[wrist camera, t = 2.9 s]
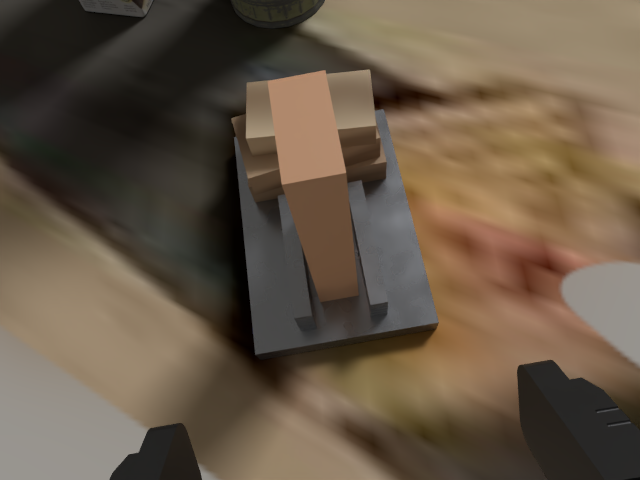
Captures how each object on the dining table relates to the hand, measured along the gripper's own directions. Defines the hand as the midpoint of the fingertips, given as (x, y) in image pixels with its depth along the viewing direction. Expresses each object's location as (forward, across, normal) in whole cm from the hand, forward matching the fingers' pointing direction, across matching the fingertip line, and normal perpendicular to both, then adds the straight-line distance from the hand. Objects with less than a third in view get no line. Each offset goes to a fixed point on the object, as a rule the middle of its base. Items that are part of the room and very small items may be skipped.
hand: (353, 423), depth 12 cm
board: (+20, 0, +4) cm, 21 cm away
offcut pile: (+26, 0, -1) cm, 26 cm away
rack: (+23, 0, +3) cm, 24 cm away
